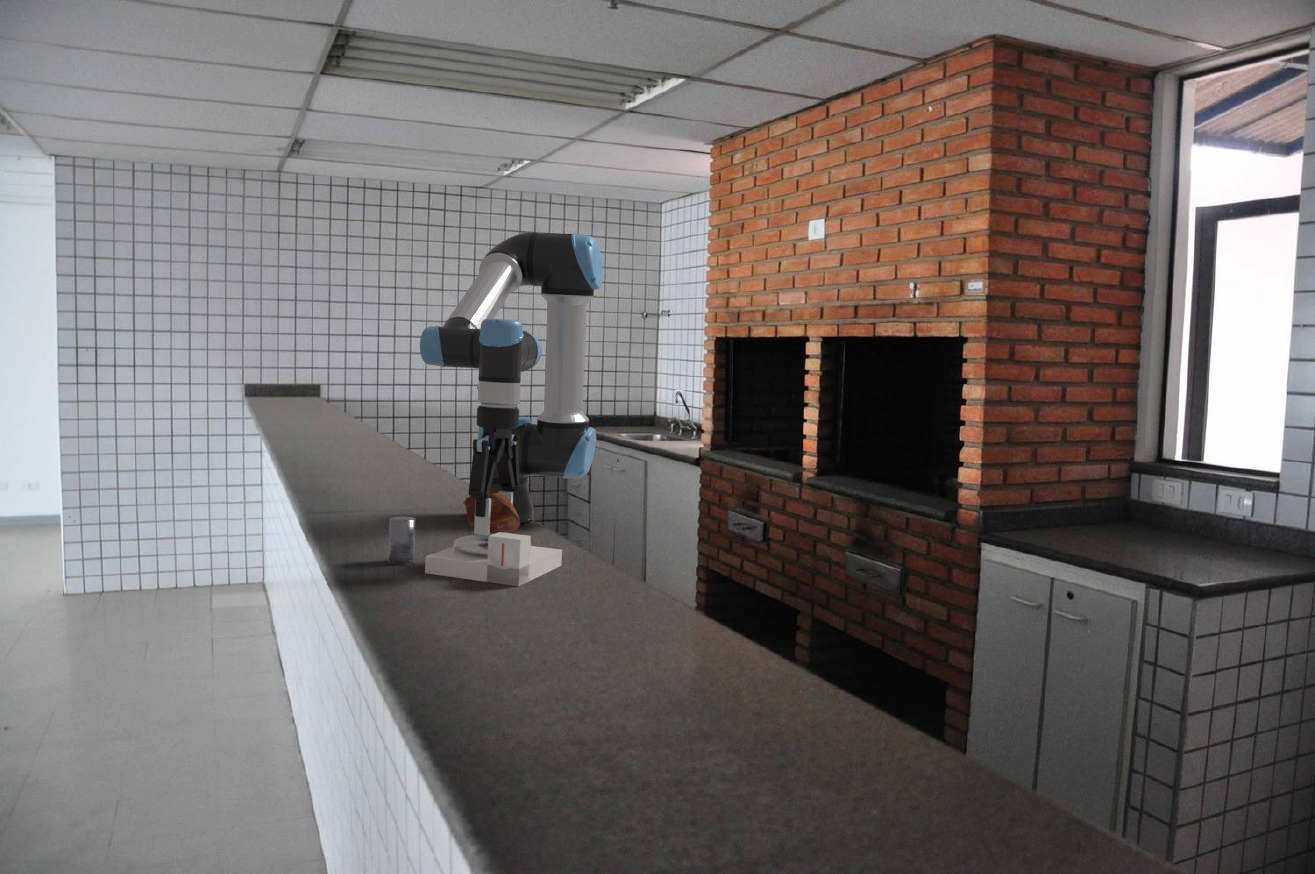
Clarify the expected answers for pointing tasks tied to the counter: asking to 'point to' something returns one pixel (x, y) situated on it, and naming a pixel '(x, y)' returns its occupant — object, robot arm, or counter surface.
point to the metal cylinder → (401, 540)
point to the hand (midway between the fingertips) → (493, 530)
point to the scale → (497, 561)
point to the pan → (473, 544)
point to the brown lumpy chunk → (496, 513)
